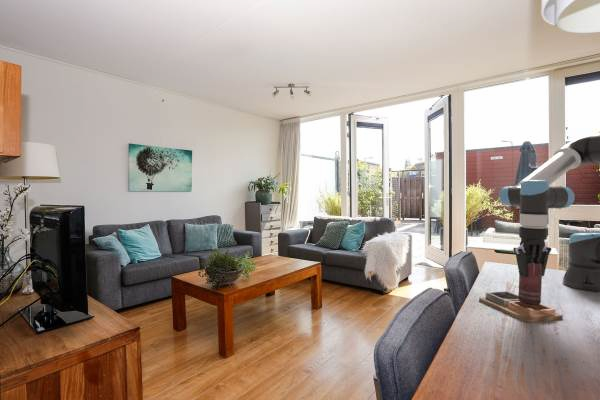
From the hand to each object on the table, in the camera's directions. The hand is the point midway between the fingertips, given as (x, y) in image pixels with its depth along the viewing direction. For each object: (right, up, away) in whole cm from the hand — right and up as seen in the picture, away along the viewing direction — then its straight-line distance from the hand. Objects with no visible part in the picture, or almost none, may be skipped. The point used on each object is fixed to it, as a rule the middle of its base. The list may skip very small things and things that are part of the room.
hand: (531, 297), depth 107 cm
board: (-1, -6, +5) cm, 8 cm away
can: (0, -2, +1) cm, 2 cm away
